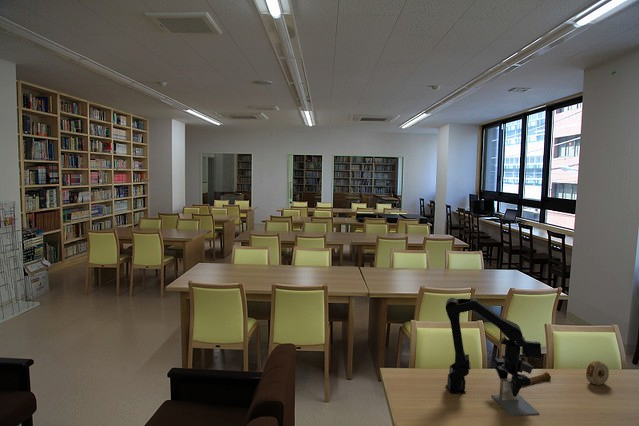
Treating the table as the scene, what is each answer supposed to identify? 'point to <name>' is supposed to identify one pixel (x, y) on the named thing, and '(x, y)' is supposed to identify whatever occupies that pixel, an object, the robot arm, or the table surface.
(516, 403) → the mat
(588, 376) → the stone disc
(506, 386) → the tile
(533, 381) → the primitive tool
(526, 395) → the table surface
